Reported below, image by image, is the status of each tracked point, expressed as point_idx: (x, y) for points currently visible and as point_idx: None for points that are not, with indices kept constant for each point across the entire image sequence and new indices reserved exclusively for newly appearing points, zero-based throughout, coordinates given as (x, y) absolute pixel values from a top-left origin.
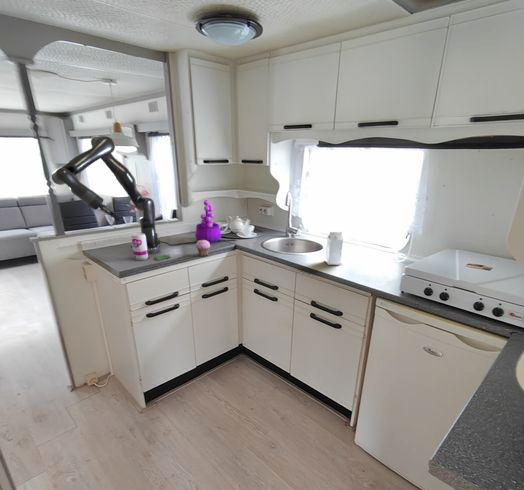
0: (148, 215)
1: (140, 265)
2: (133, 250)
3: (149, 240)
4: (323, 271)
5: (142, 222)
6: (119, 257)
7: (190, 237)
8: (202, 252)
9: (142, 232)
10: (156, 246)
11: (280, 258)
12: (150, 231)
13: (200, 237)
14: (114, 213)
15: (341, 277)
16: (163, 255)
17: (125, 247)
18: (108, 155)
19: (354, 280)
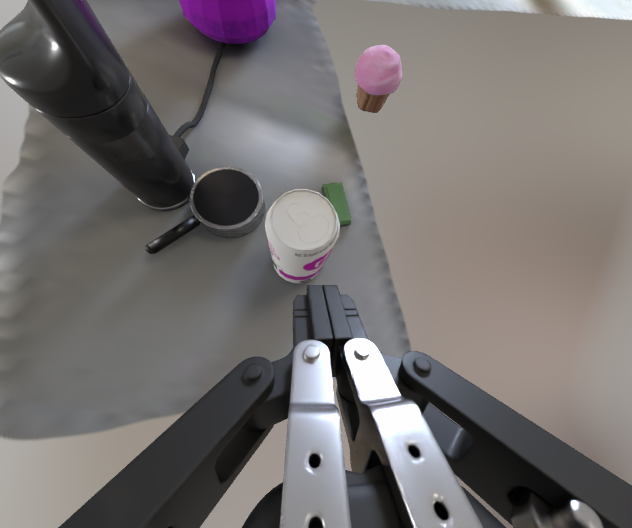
0: (88, 21)
1: (375, 286)
2: (301, 276)
3: (177, 171)
4: (565, 13)
5: (91, 109)
6: (234, 327)
7: (132, 34)
8: (385, 100)
9: (126, 163)
10: (244, 176)
11: (469, 9)
12: (159, 131)
13: (247, 26)
14: (433, 361)
15: (599, 16)
16: (331, 193)
17: (89, 266)
18: None
19: (615, 14)
